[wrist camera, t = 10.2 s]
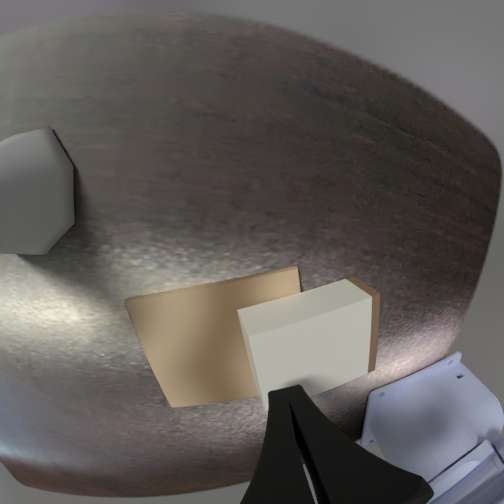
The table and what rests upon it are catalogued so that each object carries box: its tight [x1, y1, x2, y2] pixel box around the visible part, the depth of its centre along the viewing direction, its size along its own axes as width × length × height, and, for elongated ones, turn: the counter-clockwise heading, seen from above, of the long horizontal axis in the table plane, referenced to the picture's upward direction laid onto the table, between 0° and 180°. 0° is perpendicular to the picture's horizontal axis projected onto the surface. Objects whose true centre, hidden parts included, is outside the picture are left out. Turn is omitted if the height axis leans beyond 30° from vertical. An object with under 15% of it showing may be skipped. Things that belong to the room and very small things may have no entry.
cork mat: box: [124, 266, 301, 408], centre depth 15 cm, size 9×8×1 cm
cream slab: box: [237, 276, 380, 411], centre depth 14 cm, size 2×5×6 cm
